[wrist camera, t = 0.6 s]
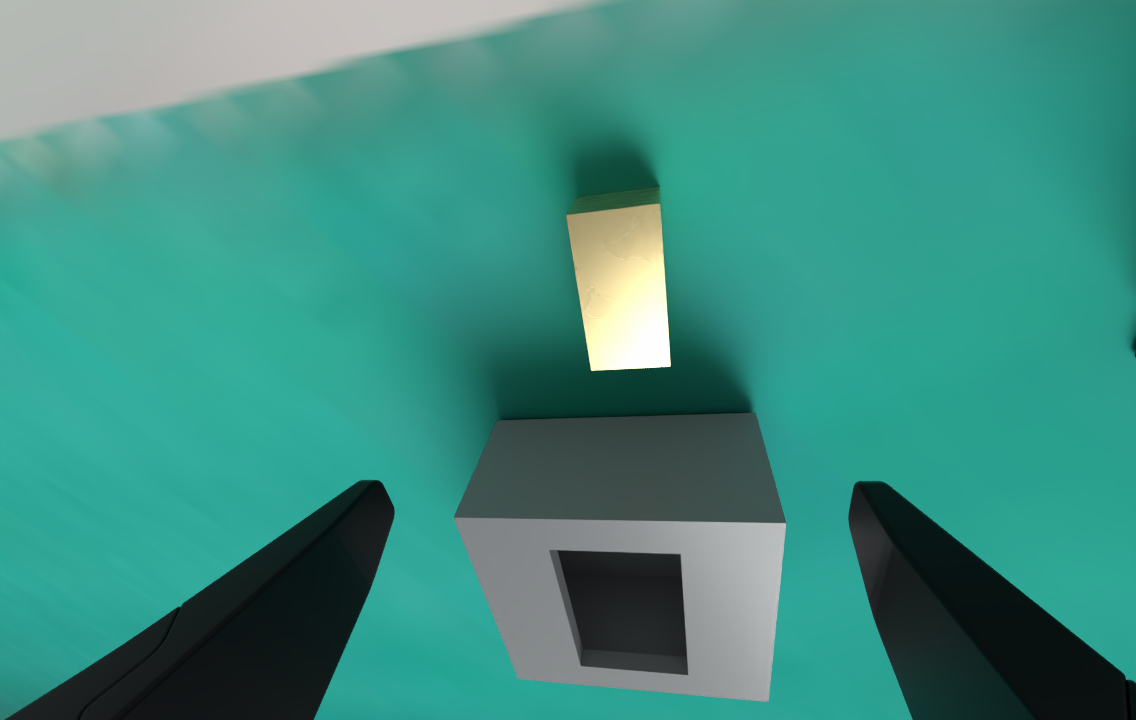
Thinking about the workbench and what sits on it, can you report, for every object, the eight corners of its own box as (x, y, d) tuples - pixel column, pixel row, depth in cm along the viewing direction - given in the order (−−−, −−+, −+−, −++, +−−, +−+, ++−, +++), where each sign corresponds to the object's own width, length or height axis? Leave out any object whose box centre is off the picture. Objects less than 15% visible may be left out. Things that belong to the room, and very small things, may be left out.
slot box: (755, 412, 21) (786, 523, 16) (748, 582, 27) (768, 702, 22) (496, 420, 24) (453, 517, 19) (542, 573, 30) (518, 678, 25)
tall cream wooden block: (659, 186, 17) (660, 203, 15) (669, 334, 20) (670, 366, 18) (576, 197, 18) (566, 215, 16) (597, 339, 21) (591, 370, 19)
